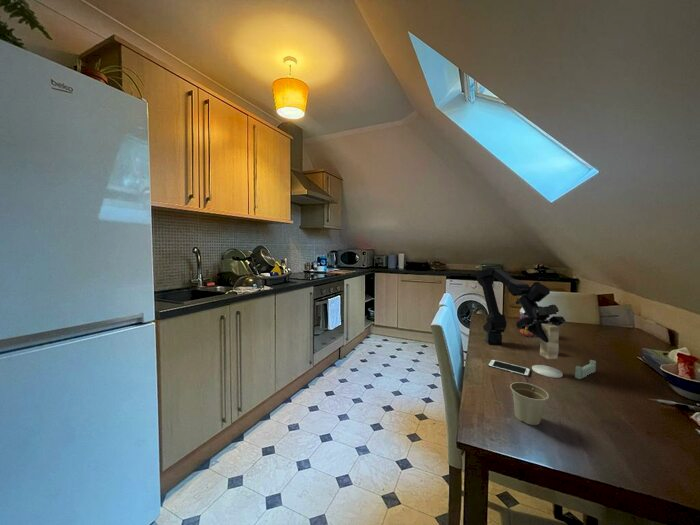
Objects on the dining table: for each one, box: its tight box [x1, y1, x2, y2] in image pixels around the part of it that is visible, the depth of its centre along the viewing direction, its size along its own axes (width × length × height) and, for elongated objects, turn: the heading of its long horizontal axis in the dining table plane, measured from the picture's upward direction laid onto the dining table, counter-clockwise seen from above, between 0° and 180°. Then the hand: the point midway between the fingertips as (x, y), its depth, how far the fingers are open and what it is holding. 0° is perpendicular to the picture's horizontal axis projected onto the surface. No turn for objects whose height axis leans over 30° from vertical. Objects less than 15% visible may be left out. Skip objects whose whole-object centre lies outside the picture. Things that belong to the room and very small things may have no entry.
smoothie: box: [519, 307, 535, 338], centre depth 151 cm, size 8×8×20 cm
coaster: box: [531, 364, 564, 379], centre depth 107 cm, size 10×10×1 cm
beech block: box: [539, 323, 560, 360], centre depth 106 cm, size 4×4×13 cm
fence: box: [574, 359, 597, 380], centre depth 105 cm, size 2×14×4 cm, turn 118°
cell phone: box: [487, 358, 532, 378], centre depth 110 cm, size 8×15×1 cm, turn 51°
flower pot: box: [509, 381, 550, 426], centre depth 78 cm, size 9×9×9 cm
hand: (552, 341), depth 105 cm, fingers closed on beech block, 4 cm apart
